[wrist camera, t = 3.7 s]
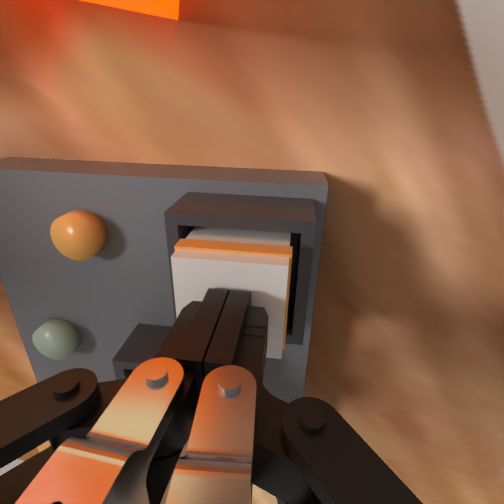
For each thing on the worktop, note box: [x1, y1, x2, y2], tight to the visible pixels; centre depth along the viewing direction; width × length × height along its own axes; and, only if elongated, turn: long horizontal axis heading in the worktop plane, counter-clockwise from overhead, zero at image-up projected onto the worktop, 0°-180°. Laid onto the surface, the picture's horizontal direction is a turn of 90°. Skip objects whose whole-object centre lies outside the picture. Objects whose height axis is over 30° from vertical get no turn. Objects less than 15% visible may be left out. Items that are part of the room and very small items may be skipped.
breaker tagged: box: [171, 226, 293, 359], centre depth 14 cm, size 4×4×4 cm
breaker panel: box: [0, 157, 329, 403], centre depth 20 cm, size 18×22×6 cm
